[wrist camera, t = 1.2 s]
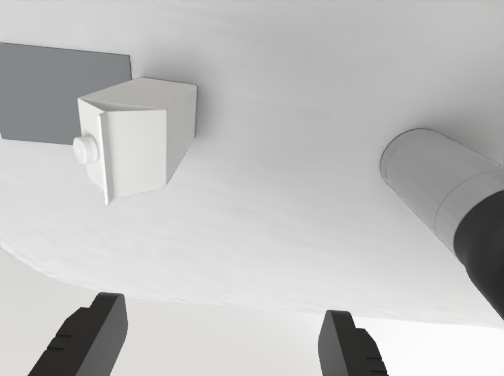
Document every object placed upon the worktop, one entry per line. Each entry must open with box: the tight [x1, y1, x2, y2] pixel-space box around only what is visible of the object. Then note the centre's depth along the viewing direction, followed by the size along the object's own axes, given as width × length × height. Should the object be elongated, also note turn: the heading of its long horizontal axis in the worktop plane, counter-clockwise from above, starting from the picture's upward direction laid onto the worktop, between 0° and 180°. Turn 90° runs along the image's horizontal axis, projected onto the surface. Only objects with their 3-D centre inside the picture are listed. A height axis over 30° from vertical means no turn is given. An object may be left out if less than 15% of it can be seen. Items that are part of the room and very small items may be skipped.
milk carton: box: [73, 77, 197, 205], centre depth 30 cm, size 7×7×19 cm
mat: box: [0, 43, 132, 145], centre depth 38 cm, size 18×12×1 cm, turn 85°
